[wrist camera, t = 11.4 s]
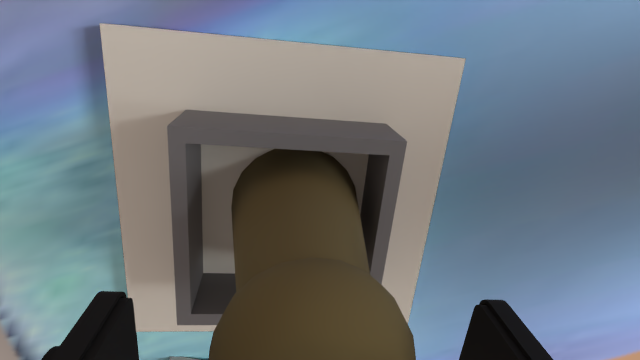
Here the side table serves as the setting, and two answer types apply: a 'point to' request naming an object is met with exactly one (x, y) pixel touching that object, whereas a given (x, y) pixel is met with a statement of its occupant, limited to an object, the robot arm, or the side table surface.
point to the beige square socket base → (263, 152)
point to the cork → (304, 269)
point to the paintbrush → (181, 358)
